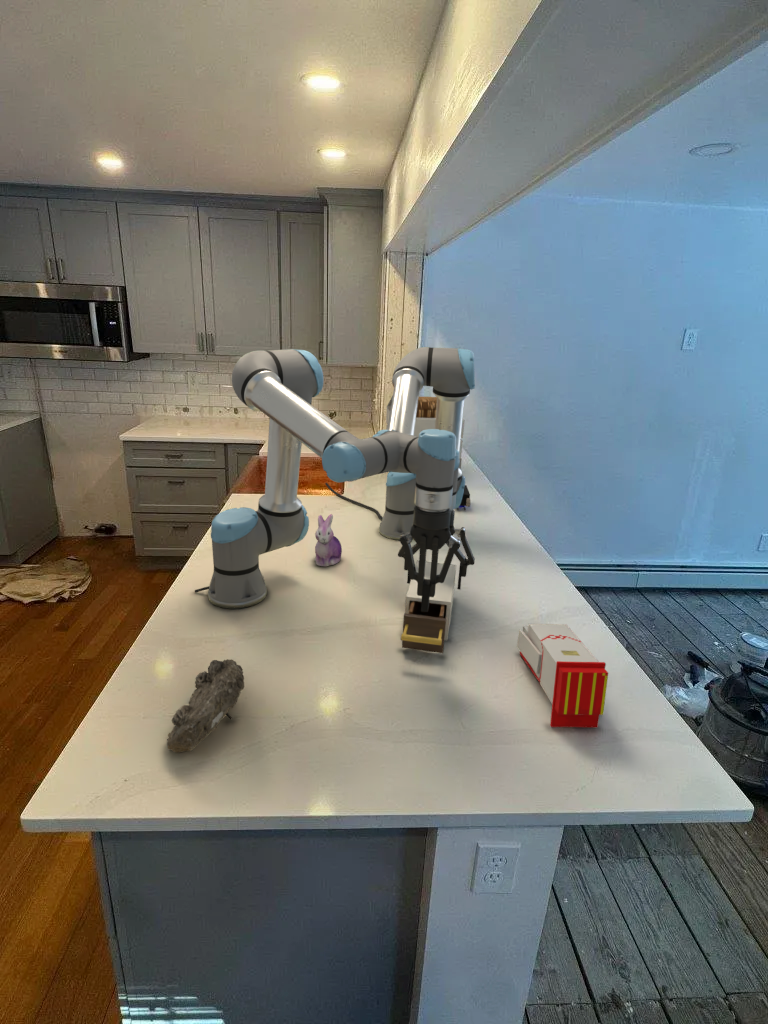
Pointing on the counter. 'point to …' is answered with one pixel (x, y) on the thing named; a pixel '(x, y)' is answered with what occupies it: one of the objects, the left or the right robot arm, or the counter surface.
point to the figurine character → (465, 499)
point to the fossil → (206, 705)
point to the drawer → (424, 628)
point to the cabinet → (442, 591)
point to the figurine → (326, 543)
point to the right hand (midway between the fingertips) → (433, 584)
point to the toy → (565, 673)
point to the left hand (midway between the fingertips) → (424, 608)
